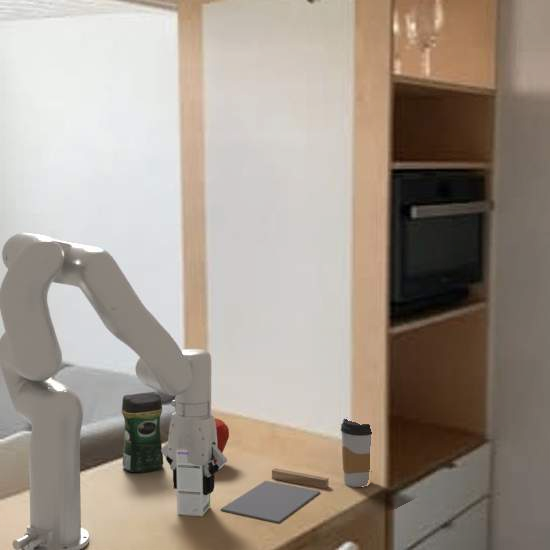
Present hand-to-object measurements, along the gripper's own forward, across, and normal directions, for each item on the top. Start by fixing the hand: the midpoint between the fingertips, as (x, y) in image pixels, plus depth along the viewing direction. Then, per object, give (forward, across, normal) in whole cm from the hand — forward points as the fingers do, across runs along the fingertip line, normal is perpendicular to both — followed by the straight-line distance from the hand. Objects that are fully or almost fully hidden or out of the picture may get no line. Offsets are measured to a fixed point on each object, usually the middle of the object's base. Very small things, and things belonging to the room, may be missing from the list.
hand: (193, 489), depth 187 cm
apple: (+5, -14, +27) cm, 31 cm away
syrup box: (+5, 0, 0) cm, 5 cm away
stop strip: (+5, +12, +27) cm, 30 cm away
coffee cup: (+5, +24, +33) cm, 41 cm away
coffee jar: (+5, -26, +17) cm, 31 cm away
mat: (+5, +12, +13) cm, 18 cm away
